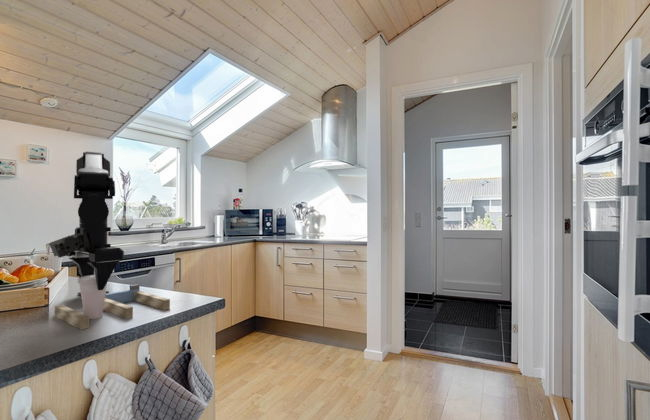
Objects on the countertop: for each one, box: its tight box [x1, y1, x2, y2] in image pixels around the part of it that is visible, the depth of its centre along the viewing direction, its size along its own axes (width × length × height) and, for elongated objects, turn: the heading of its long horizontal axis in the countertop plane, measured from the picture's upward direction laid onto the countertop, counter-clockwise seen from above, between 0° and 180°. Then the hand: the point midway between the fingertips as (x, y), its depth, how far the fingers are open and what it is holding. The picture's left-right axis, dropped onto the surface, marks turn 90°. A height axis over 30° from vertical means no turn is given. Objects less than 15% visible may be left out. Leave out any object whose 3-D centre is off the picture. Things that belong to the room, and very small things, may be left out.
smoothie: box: [77, 270, 108, 320], centre depth 88 cm, size 6×6×14 cm
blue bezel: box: [105, 283, 140, 304], centre depth 101 cm, size 2×11×4 cm, turn 143°
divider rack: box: [54, 290, 171, 330], centre depth 92 cm, size 16×20×2 cm
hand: (93, 287), depth 88 cm, fingers open, 8 cm apart
